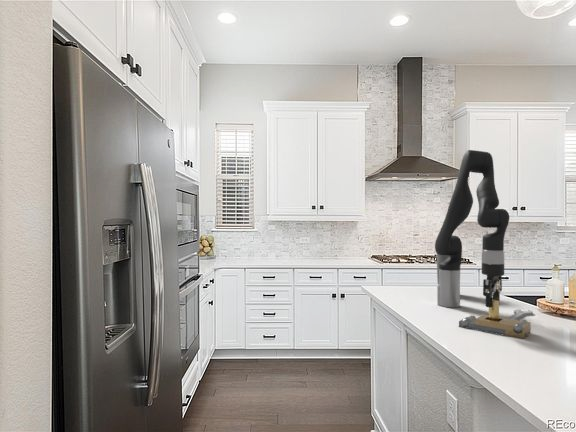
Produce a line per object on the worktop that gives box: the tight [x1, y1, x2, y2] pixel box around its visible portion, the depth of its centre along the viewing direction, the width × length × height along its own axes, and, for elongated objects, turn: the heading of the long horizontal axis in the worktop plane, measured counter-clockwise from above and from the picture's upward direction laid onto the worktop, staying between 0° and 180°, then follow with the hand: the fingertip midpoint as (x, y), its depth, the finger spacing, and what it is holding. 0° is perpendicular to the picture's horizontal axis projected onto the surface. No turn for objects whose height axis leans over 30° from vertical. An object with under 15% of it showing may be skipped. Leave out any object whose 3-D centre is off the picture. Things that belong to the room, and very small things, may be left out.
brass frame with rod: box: [458, 314, 532, 340], centre depth 142 cm, size 22×10×4 cm, turn 46°
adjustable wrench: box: [507, 308, 534, 320], centre depth 160 cm, size 25×6×2 cm, turn 129°
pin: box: [488, 300, 500, 322], centre depth 142 cm, size 3×3×11 cm
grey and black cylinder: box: [436, 234, 454, 285], centre depth 206 cm, size 13×13×35 cm
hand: (492, 305), depth 142 cm, fingers open, 8 cm apart
